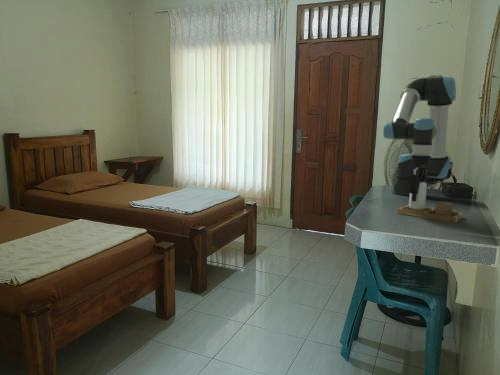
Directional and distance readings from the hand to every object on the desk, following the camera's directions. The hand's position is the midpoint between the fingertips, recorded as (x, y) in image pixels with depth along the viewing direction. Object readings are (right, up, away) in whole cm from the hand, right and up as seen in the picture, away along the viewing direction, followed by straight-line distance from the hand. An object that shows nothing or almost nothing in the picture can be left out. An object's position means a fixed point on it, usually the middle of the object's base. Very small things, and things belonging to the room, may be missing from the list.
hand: (416, 207), depth 170 cm
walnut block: (+8, -4, -7) cm, 11 cm away
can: (0, -1, 0) cm, 1 cm away
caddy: (+4, -4, -3) cm, 6 cm away
